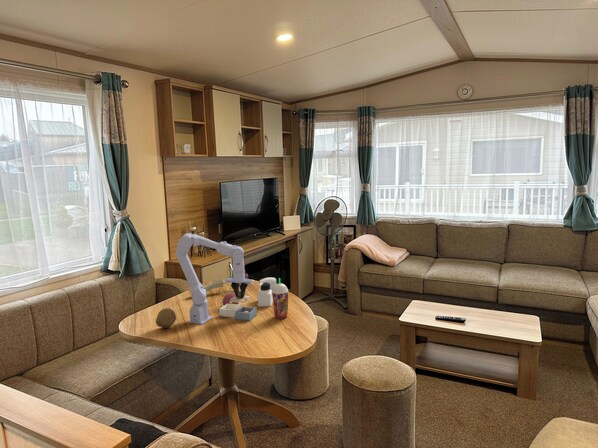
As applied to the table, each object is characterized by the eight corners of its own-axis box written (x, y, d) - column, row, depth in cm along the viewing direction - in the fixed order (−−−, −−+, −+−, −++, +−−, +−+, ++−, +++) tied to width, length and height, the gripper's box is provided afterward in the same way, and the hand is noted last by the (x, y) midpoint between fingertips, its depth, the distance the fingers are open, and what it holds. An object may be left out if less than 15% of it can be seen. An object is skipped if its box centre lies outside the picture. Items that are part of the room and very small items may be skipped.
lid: (243, 302, 201) (243, 295, 201) (230, 301, 204) (229, 293, 203) (250, 298, 208) (249, 290, 207) (237, 296, 210) (236, 289, 210)
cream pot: (233, 317, 206) (233, 310, 205) (219, 316, 208) (219, 308, 208) (240, 312, 213) (240, 304, 213) (227, 310, 216) (226, 303, 215)
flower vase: (195, 307, 244) (248, 285, 259) (198, 307, 233) (253, 284, 247) (188, 289, 245) (241, 268, 259) (191, 288, 234) (246, 266, 248)
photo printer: (275, 296, 237) (274, 275, 235) (278, 298, 233) (277, 277, 231) (258, 299, 232) (257, 278, 231) (261, 301, 229) (260, 280, 227)
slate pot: (250, 321, 201) (249, 313, 200) (235, 319, 203) (235, 311, 203) (256, 315, 208) (256, 307, 208) (242, 313, 211) (242, 306, 210)
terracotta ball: (247, 317, 204) (247, 312, 203) (242, 317, 205) (242, 311, 204) (249, 315, 206) (249, 310, 206) (244, 315, 207) (244, 309, 207)
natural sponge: (180, 328, 195) (178, 308, 193) (162, 334, 189) (160, 313, 187) (171, 323, 201) (170, 304, 200) (154, 328, 195) (152, 309, 194)
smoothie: (287, 320, 200) (285, 280, 197) (271, 319, 202) (269, 280, 199) (291, 313, 208) (289, 276, 205) (275, 313, 210) (273, 275, 207)
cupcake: (225, 311, 222) (231, 312, 212) (217, 298, 221) (223, 299, 211) (238, 302, 226) (245, 303, 216) (230, 289, 225) (237, 290, 215)
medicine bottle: (273, 302, 227) (272, 281, 225) (270, 306, 220) (269, 285, 218) (260, 302, 228) (259, 281, 226) (257, 306, 221) (256, 285, 219)
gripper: (255, 269, 205) (256, 295, 207) (229, 268, 210) (231, 293, 212) (249, 273, 198) (250, 300, 200) (222, 271, 203) (224, 297, 205)
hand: (240, 297), depth 206 cm, fingers closed on lid, 2 cm apart
